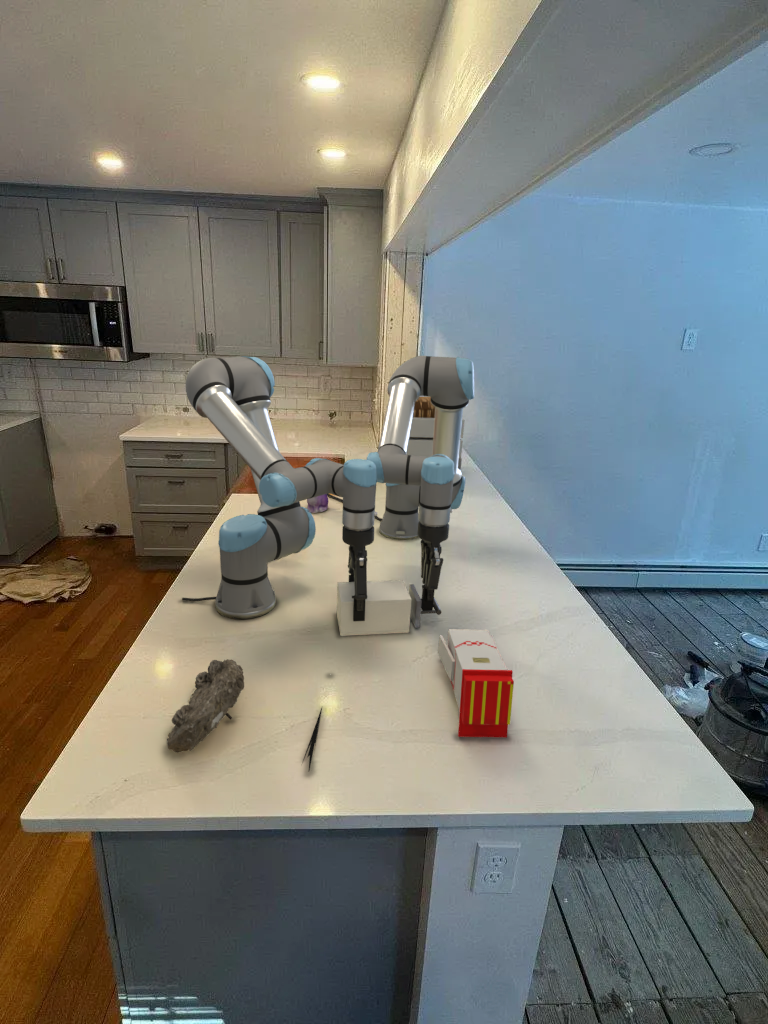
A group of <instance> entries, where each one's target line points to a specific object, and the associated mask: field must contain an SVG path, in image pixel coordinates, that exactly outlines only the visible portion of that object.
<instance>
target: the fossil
mask: <svg viewBox="0 0 768 1024" xmlns="http://www.w3.org/2000/svg"><path fill="white" fill-rule="evenodd" d="M243 670H244V669H243V667H242V665H240V664H237V662H236V661H235V660H234V659H232V658H231V659H227V658H226V659H224V660H223V661H222V660H217V659H212V660H211V661H210V663H209V665H208V666H207V671H201V672H199V673H198V674H197V675H196V676H195V680H194V684H195V685H194V687H195V689H194V690H193V693H192V694H191V697H190V698H189V700H188V704H184V705H182V706H181V707H180V709H177V710H176V711H175V713H174V715H173V716H172V718H171V723H172V724H173V727H172V730H171V731H170V732H168V734H167V738H166V741H167V742H166V745H167V749H168V750H169V751H173V752H174V753H176V754H178V753H182V752H188V751H189V752H192V751H193V750H195V748H196V747H197V746H199V744H200V743H201V742H203V741H204V740H205V739H206V738H207V737H208V736H209V735H210V734H211V733H212V732H214V730H215V729H217V727H218V726H219V724H220V722H221V721H222V720H223V719H224V718H225V716H226V717H227V719H229V720H233V717H232V715H230V714H229V710H230V709H231V708H234V706H235V704H236V703H237V702H238V699H239V697H240V695H241V693H242V691H243V690H245V689H244V688H245V675H244V671H243Z"/></svg>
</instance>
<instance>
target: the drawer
mask: <svg viewBox="0 0 768 1024" xmlns="http://www.w3.org/2000/svg"><path fill="white" fill-rule="evenodd" d="M408 593H409V595H410V597H411V612H410V620H411V621H412V624H413V627H414V628H421V627H420V626H421V615H426V614H429V615H430V614H436V615H437V616H441V615H442V613H443V611H442V608H441V607H440V604H439V603H438V601H437V599H436V598H435V596H434V602H433V610H427V611H422V609H421V603H422V597H421V596H420V595H419V593H418V590H417V588H416V586H415V584H414V583H409V585H408Z"/></svg>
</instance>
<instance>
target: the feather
mask: <svg viewBox="0 0 768 1024" xmlns="http://www.w3.org/2000/svg"><path fill="white" fill-rule="evenodd" d="M329 675H330V676H331V675H332V674H331V673H330V674H329ZM322 710H323V707H321V708H320V710H319V713H318V716H317V719H316V723H315V725H314V728H313V731H312V733H311V737H310V739H309V742H308V745H307V748H306V751H305V754H304V757H303V760H302V763H301V767H302V765H303V763H304V761H305V758H308V759H309V760H308V762H307V763H308V764H307V766H308V771H310V770H311V766H312V765H311V764H312V760H313V757H315V756H314V755H315V751H316V749H315V746H317V739H318V733H319V729H320V722H321V717H322V712H323V711H322ZM313 754H314V755H313ZM306 755H307V757H306Z"/></svg>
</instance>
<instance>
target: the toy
mask: <svg viewBox="0 0 768 1024" xmlns="http://www.w3.org/2000/svg"><path fill="white" fill-rule="evenodd" d="M446 640H447V643H446V641H445V639H444V636H443V635H442V634H439V637H438V646H437V656H438V657H439V659H440V661H441V663H442V666H443V668H444V670H445V672H446V674H447V677H448V679H449V681H450V684H451V687H452V690H453V693H454V697H455V701H456V705H457V708H458V711H459V714H458V715H459V716H458V730H457V731H458V732H457V737H458V738H508V731H509V726H510V725H511V717H512V707H513V697H514V696H513V695H514V684H515V680H514V679H513V673H514V671H513V670H512V669H508V667H507V665H506V662H505V661H504V659H503V658H502V655H501V653H500V651H499V649H498V647H497V643H496V639H495V637H494V635H493V634H491V632H490V631H489V629H467V628H466V629H465V628H463V629H461V628H460V629H459V628H448V630H447V639H446Z"/></svg>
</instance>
